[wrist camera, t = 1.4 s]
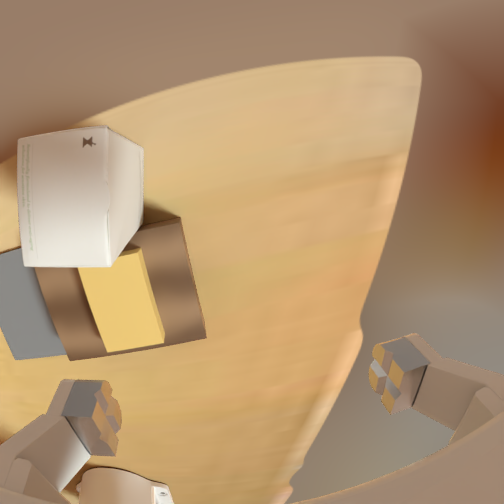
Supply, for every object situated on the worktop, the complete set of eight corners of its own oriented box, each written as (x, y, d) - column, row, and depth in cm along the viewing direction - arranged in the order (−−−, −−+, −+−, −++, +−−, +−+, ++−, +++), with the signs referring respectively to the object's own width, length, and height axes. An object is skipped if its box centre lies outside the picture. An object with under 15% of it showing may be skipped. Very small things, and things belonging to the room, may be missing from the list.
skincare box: (88, 149, 28) (14, 130, 13) (148, 146, 29) (112, 118, 14) (89, 228, 30) (18, 269, 15) (147, 227, 31) (112, 270, 16)
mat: (79, 351, 33) (78, 352, 32) (16, 358, 31) (15, 360, 31) (41, 241, 29) (39, 242, 28) (-21, 260, 27) (-23, 261, 27)
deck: (204, 321, 35) (206, 338, 31) (79, 343, 32) (70, 360, 29) (180, 217, 32) (179, 222, 28) (47, 249, 29) (31, 258, 25)
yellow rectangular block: (165, 333, 30) (163, 342, 28) (111, 342, 29) (107, 352, 27) (140, 247, 28) (137, 252, 26) (84, 260, 27) (77, 266, 25)
